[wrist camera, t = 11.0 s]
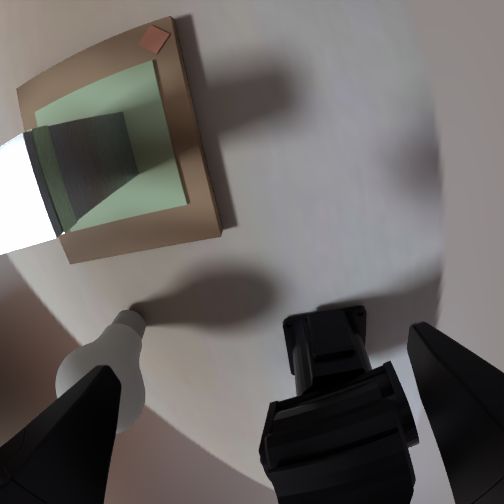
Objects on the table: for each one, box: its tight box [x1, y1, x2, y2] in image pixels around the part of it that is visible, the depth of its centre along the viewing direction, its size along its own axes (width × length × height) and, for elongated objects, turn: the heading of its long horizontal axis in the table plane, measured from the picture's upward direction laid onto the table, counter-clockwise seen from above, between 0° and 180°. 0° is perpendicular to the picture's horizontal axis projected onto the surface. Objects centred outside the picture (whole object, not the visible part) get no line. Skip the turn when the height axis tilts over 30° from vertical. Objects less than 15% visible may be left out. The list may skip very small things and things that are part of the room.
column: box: [0, 112, 139, 254], centre depth 13 cm, size 4×4×9 cm
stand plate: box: [16, 16, 223, 264], centre depth 17 cm, size 14×12×1 cm
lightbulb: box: [56, 310, 146, 434], centre depth 19 cm, size 6×6×11 cm
